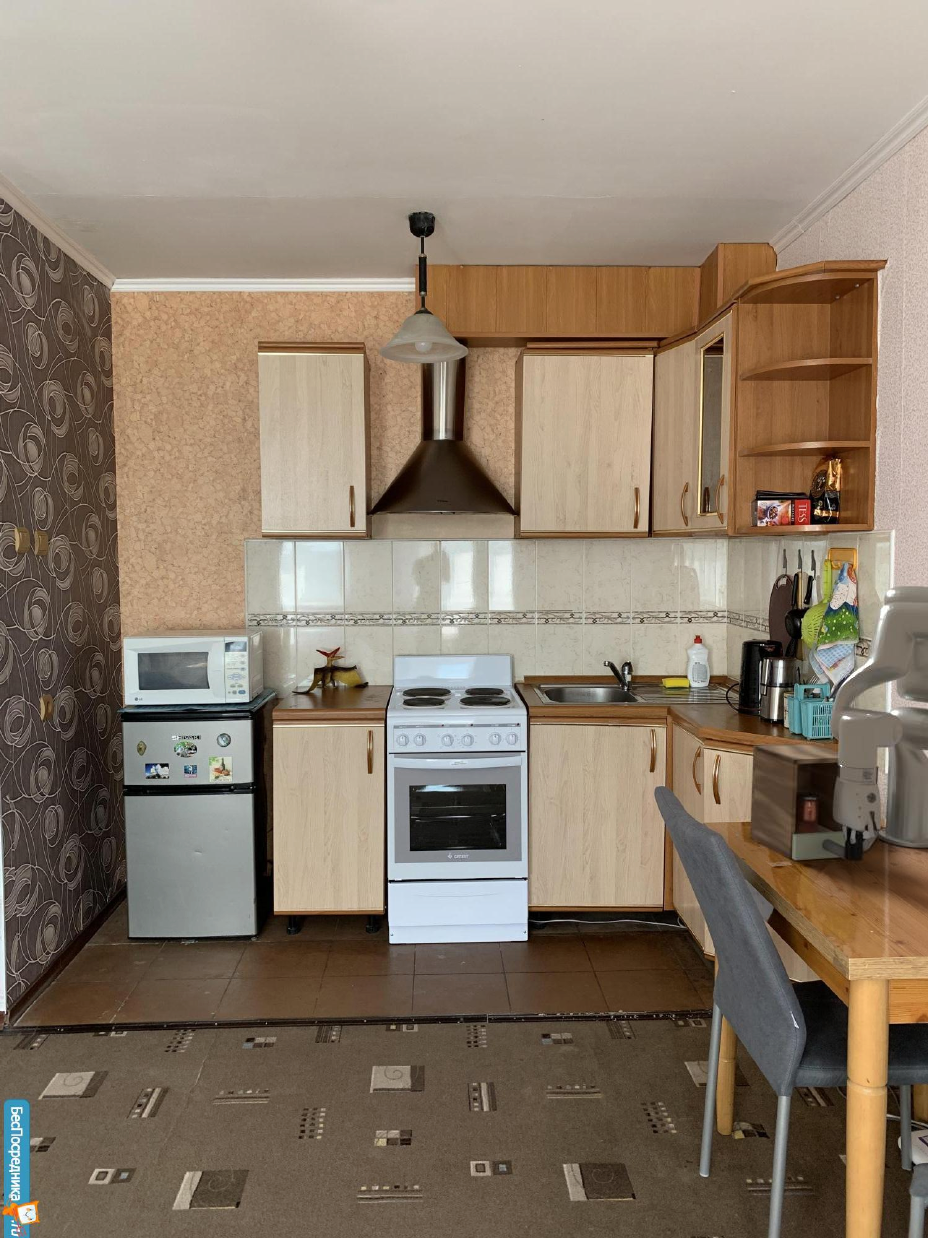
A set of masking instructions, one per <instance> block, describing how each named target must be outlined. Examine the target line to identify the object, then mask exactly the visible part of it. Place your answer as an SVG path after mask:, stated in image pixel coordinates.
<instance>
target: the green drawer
mask: <svg viewBox="0 0 928 1238" xmlns="http://www.w3.org/2000/svg"><path fill="white" fill-rule="evenodd" d="M845 841H846V840H844V839H843V832H842V831H838V832H833V831H831V830H829V829H827V828H824V827H822V826H820V825H818V833H805V834H793V843H792V860H794V861H804V860H805V861H806V860H817V859H818V860H819V859H833V858H842V859H844V860H845V861H847V860H846V859H845V858H844V855H845Z"/></svg>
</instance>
